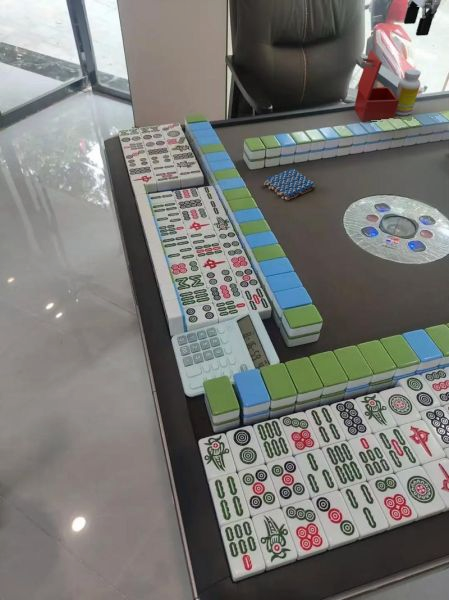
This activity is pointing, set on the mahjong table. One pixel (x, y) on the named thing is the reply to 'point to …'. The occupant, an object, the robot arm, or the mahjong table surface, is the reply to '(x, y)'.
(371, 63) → the lid
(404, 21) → the robot arm
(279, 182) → the woven mat
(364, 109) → the box
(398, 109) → the supplement bottle
